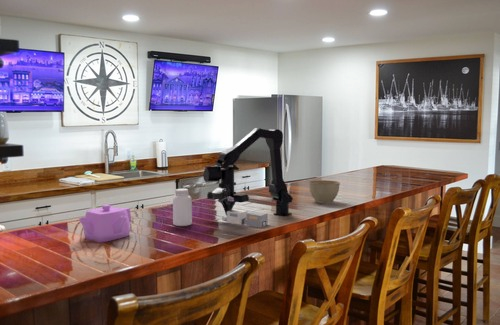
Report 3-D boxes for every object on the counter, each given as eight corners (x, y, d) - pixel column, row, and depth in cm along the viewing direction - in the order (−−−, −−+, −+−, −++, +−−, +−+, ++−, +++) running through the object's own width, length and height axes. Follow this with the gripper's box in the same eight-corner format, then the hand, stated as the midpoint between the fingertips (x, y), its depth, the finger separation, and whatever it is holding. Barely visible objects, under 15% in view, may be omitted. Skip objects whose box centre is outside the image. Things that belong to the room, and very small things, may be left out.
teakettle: (132, 231, 196) (131, 200, 195) (126, 241, 179) (125, 208, 178) (88, 232, 194) (87, 201, 193) (79, 243, 177) (77, 210, 176)
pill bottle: (174, 226, 202) (173, 191, 201) (172, 222, 210) (171, 188, 208) (193, 225, 204) (192, 190, 203) (190, 221, 212) (189, 187, 210)
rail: (227, 218, 217) (227, 214, 217) (270, 224, 205) (270, 220, 205) (217, 222, 211) (217, 218, 211) (260, 228, 199) (260, 224, 198)
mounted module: (253, 222, 208) (253, 211, 208) (267, 224, 204) (267, 213, 204) (246, 224, 204) (246, 213, 203) (260, 226, 200) (260, 215, 199)
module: (234, 219, 214) (234, 209, 213) (247, 221, 210) (247, 211, 209) (226, 221, 209) (226, 211, 209) (240, 223, 205) (240, 213, 205)
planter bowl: (345, 203, 252) (345, 183, 251) (318, 206, 246) (318, 184, 245) (329, 198, 267) (329, 179, 266) (303, 201, 261) (303, 180, 260)
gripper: (198, 181, 209) (199, 216, 211) (234, 184, 199) (234, 222, 200) (214, 178, 218) (215, 212, 220) (249, 181, 208) (249, 217, 210)
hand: (227, 215), depth 212 cm, fingers closed
